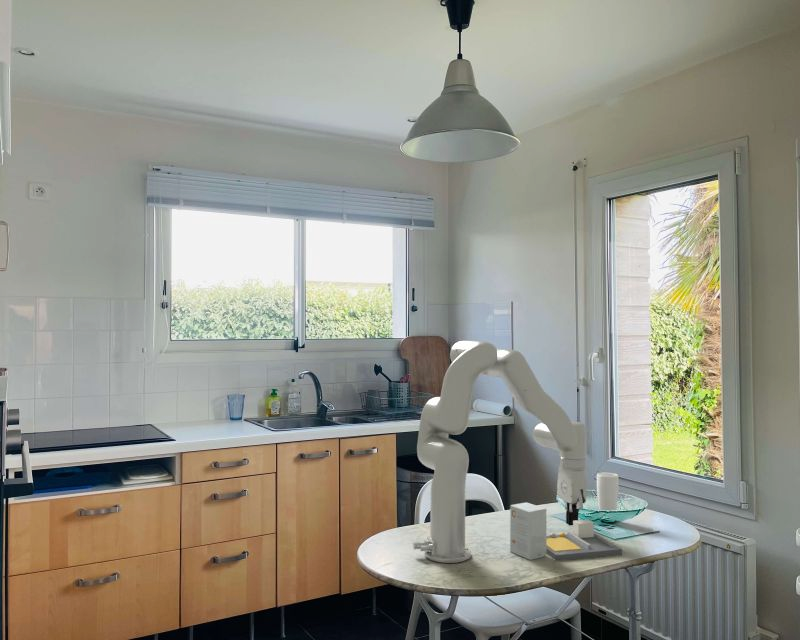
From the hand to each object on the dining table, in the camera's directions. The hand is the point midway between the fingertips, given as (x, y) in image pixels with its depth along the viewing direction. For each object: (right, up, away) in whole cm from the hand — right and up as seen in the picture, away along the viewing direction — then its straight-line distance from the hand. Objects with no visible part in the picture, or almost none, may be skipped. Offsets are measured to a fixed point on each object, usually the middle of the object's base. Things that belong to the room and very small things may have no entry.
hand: (572, 524), depth 199 cm
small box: (-16, -3, -17) cm, 24 cm away
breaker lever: (+2, -2, -6) cm, 7 cm away
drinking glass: (+15, -4, +14) cm, 21 cm away
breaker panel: (-2, -3, -12) cm, 12 cm away
